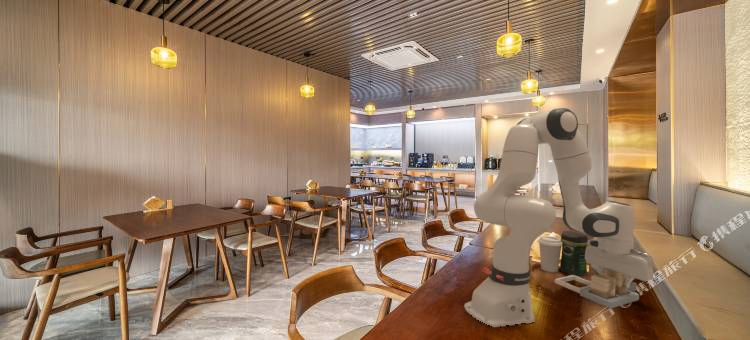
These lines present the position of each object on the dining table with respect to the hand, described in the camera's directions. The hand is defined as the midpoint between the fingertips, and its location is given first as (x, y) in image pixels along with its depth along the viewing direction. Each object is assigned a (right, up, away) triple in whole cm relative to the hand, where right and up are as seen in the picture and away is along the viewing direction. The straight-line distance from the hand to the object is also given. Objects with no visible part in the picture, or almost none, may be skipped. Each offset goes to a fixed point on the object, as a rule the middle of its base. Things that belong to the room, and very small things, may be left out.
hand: (615, 283), depth 107 cm
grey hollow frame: (-3, -6, -1) cm, 7 cm away
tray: (-8, -5, +9) cm, 13 cm away
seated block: (-7, -5, -3) cm, 9 cm away
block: (0, -3, 0) cm, 3 cm away
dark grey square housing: (+7, -5, +6) cm, 10 cm away
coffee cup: (-9, -5, +26) cm, 28 cm away
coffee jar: (0, -5, +23) cm, 23 cm away
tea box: (+16, -5, +22) cm, 27 cm away
